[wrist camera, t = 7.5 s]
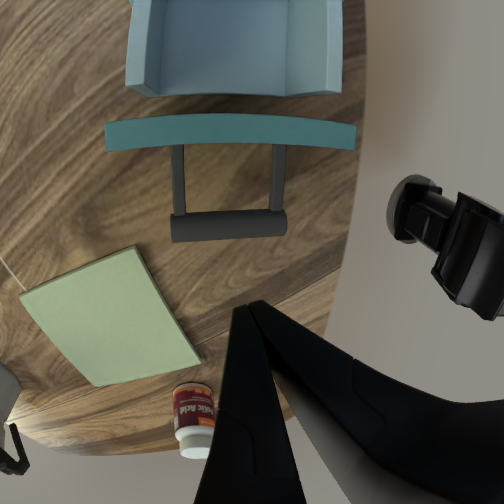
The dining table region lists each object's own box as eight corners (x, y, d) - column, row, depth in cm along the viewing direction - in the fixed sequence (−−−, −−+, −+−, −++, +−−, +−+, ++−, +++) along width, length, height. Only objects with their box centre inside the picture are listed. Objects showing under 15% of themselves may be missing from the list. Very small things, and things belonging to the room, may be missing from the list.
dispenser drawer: (293, 208, 19) (339, 253, 14) (142, 216, 17) (122, 269, 11) (303, -26, 11) (350, -66, 5) (151, -35, 8) (141, -88, 2)
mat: (135, 244, 19) (134, 248, 18) (201, 359, 26) (201, 363, 26) (20, 293, 18) (18, 297, 18) (96, 383, 25) (95, 387, 25)
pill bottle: (214, 381, 28) (225, 445, 21) (209, 402, 30) (219, 459, 23) (172, 380, 27) (176, 446, 20) (172, 401, 29) (176, 460, 22)
